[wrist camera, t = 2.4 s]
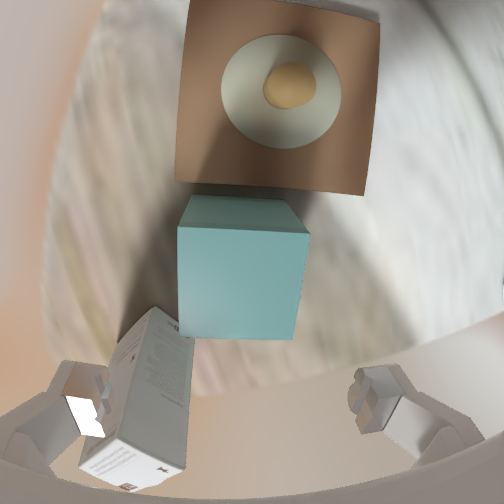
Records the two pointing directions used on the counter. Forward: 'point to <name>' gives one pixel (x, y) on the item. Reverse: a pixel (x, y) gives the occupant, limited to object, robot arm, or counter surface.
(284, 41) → the tan plate with disc
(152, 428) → the skincare box
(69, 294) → the counter surface
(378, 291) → the counter surface
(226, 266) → the teal cube box
